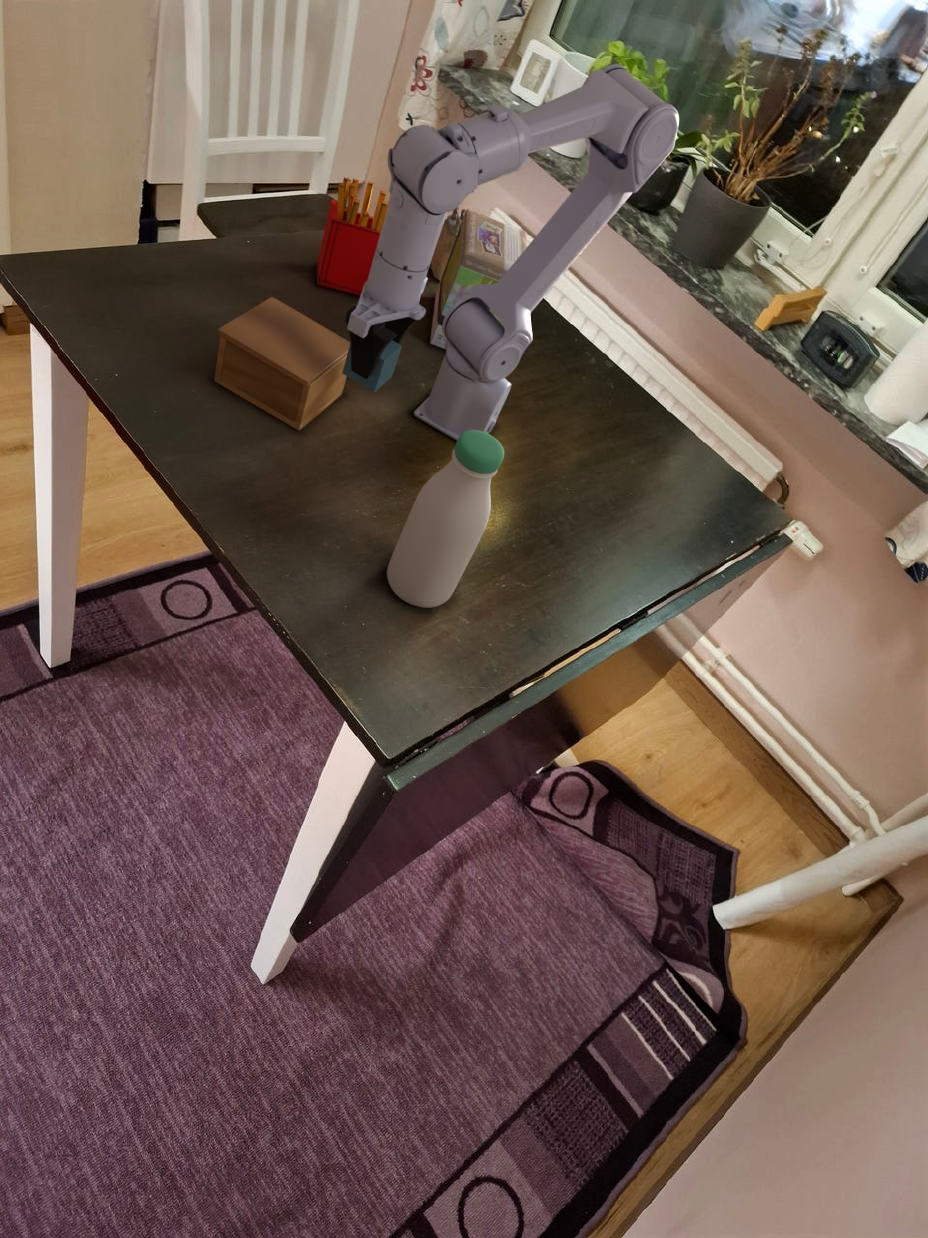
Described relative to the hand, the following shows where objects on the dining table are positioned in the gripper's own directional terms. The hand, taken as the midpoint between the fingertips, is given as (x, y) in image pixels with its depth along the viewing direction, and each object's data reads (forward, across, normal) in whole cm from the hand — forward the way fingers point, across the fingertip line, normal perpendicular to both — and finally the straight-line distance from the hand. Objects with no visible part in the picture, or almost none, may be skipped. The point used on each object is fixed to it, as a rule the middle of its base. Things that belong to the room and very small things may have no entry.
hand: (370, 365), depth 95 cm
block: (+1, 0, 0) cm, 1 cm away
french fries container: (+10, +31, +18) cm, 37 cm away
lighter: (+10, +49, +10) cm, 51 cm away
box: (+10, +1, +11) cm, 15 cm away
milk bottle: (+10, -16, -18) cm, 26 cm away
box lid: (+3, 0, +11) cm, 11 cm away
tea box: (+10, +36, 0) cm, 37 cm away
